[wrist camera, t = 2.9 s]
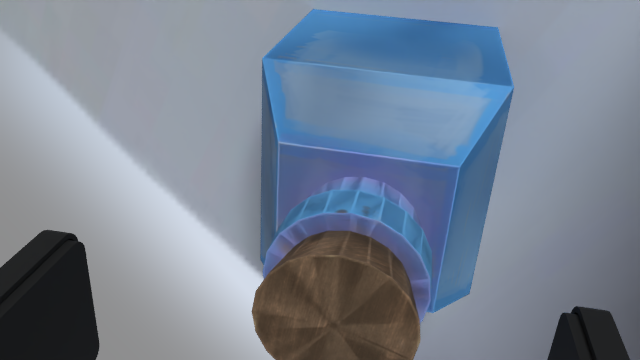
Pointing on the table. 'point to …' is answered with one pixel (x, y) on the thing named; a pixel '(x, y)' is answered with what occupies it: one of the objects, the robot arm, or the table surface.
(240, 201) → the table surface
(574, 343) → the robot arm
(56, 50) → the table surface
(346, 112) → the perfume bottle
